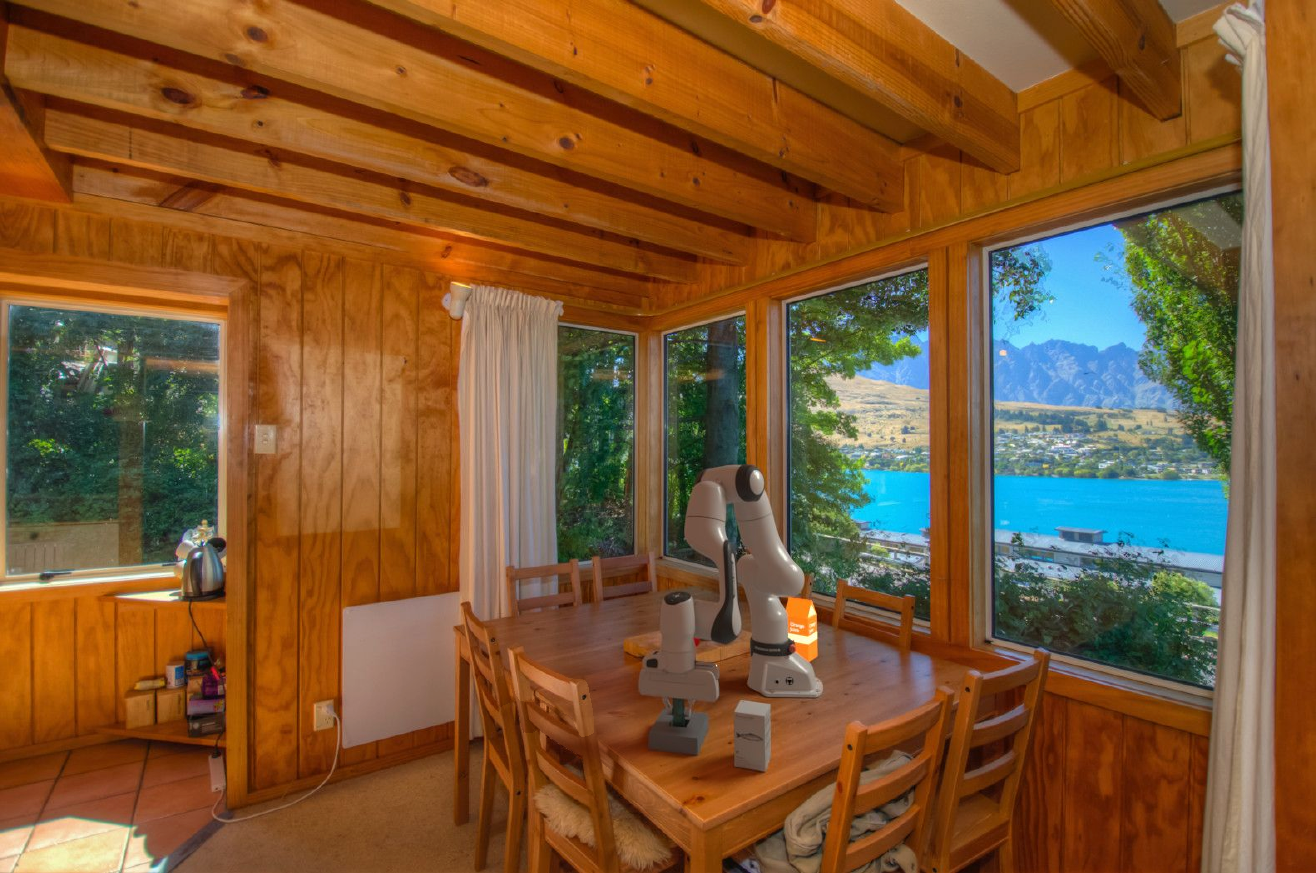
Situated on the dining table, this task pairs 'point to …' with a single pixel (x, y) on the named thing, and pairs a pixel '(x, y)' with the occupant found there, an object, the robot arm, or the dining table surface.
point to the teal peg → (678, 712)
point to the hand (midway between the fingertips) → (678, 714)
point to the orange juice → (802, 627)
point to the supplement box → (752, 735)
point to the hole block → (679, 733)
